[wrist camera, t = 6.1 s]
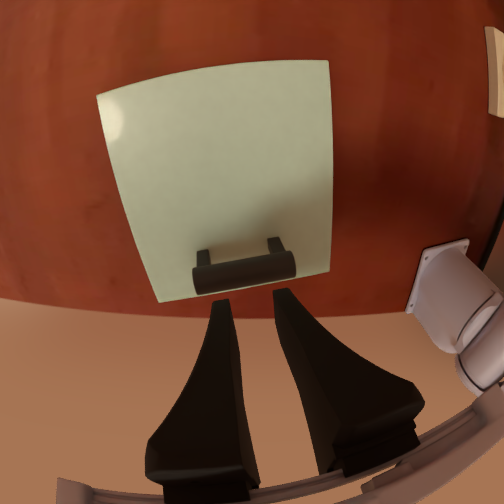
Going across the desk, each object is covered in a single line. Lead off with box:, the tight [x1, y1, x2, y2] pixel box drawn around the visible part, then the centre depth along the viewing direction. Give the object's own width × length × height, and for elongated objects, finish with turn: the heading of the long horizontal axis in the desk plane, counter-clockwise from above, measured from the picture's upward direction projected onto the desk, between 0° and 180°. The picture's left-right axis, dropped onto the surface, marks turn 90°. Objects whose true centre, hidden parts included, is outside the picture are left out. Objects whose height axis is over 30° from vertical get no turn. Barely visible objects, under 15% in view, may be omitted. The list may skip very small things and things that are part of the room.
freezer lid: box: [96, 60, 333, 303], centre depth 13 cm, size 13×11×4 cm
